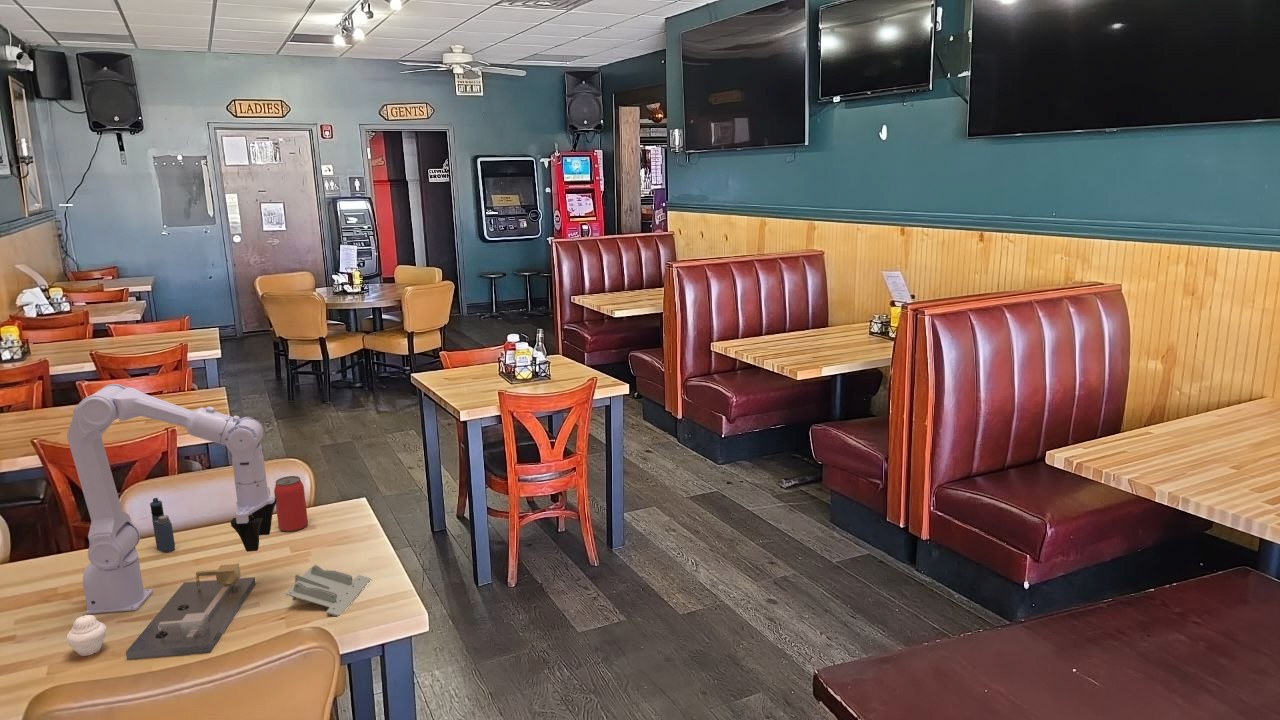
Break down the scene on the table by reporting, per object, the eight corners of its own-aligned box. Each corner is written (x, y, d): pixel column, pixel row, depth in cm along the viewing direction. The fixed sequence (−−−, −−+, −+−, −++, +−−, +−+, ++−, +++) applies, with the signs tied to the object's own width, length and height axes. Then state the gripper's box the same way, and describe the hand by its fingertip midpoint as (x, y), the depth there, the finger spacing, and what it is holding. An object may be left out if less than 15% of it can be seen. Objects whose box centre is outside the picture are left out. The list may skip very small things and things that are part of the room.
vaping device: (166, 544, 197) (158, 495, 195) (177, 549, 194) (169, 500, 192) (154, 548, 195) (146, 499, 193) (165, 554, 192) (158, 504, 190)
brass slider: (194, 589, 171) (191, 573, 171) (199, 582, 174) (197, 566, 174) (236, 586, 172) (234, 570, 172) (241, 579, 175) (239, 563, 175)
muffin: (61, 657, 152) (54, 621, 150) (93, 639, 158) (87, 605, 156) (86, 663, 150) (79, 627, 148) (118, 645, 155) (111, 610, 154)
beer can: (273, 531, 203) (267, 484, 200) (288, 520, 209) (283, 474, 207) (298, 533, 202) (292, 485, 199) (313, 521, 208) (308, 475, 205)
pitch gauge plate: (126, 659, 151) (123, 636, 150) (185, 589, 176) (181, 569, 175) (210, 652, 152) (206, 629, 151) (255, 583, 177) (253, 563, 176)
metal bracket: (277, 589, 164) (313, 554, 178) (272, 615, 165) (308, 578, 179) (348, 610, 163) (378, 573, 178) (342, 636, 165) (373, 597, 179)
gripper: (259, 491, 164) (267, 556, 167) (281, 465, 178) (289, 526, 181) (221, 493, 163) (230, 559, 166) (246, 467, 177) (254, 528, 180)
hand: (258, 542), depth 173 cm, fingers open, 7 cm apart
